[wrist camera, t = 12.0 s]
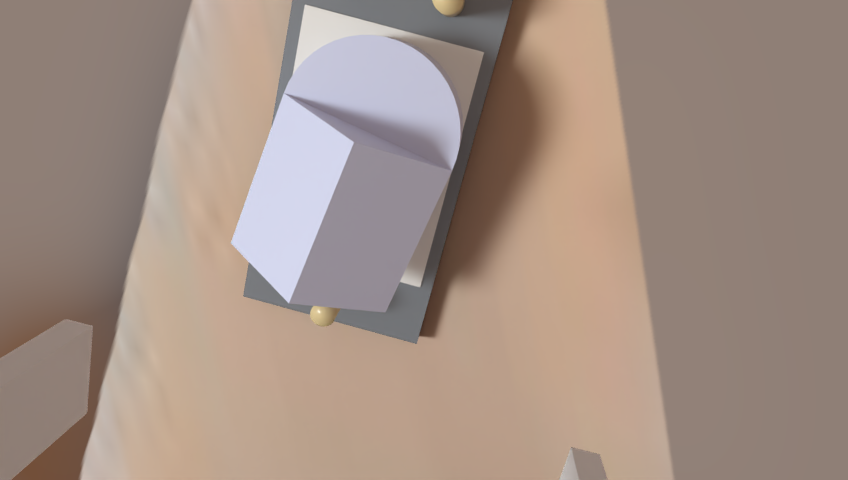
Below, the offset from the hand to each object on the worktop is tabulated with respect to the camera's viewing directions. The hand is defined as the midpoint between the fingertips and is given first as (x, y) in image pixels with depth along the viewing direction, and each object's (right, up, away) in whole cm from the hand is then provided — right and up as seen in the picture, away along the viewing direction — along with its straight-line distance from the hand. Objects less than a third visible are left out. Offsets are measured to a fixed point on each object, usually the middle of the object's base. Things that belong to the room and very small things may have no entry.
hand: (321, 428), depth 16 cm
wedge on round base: (0, +10, +17) cm, 20 cm away
